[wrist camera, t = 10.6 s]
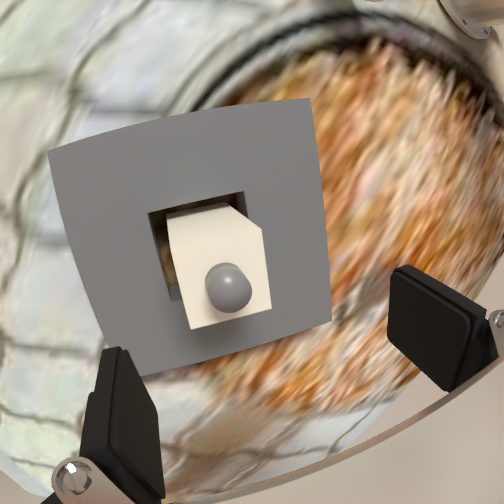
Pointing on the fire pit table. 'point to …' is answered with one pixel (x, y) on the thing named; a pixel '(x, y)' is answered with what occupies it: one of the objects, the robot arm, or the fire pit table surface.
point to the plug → (218, 263)
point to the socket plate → (186, 191)
